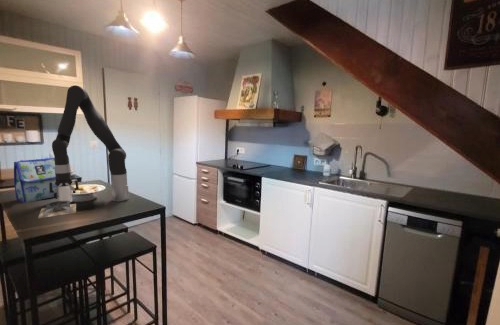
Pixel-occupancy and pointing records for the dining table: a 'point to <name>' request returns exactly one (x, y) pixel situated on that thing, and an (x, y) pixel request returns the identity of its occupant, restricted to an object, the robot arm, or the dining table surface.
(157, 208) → the dining table surface
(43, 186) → the lunch bag
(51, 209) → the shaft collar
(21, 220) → the dining table surface
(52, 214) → the shaft board
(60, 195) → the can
